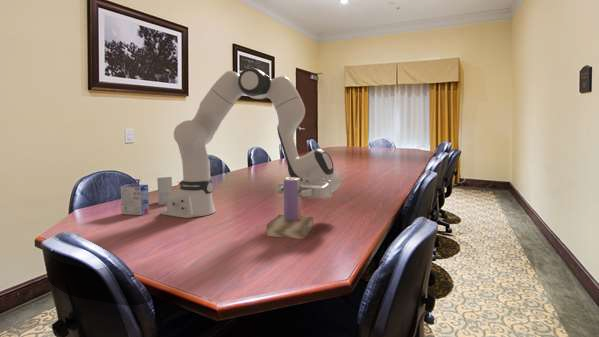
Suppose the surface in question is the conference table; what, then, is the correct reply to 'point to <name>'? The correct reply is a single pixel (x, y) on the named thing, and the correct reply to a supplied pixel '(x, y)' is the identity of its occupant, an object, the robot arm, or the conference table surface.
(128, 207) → the ink cartridge box
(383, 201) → the conference table surface
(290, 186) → the beverage can
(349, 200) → the conference table surface
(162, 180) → the small box
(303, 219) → the ash base block
